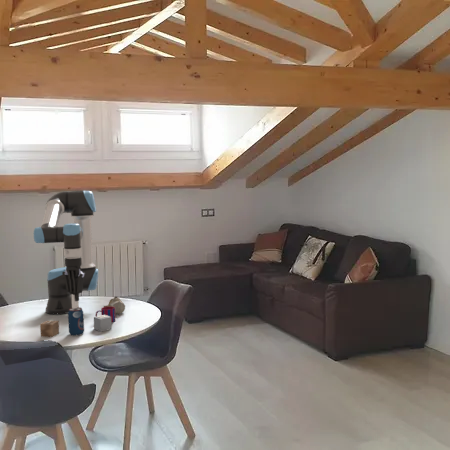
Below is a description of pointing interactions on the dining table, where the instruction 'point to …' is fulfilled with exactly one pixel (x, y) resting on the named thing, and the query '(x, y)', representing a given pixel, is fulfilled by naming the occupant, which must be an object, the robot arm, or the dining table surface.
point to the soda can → (76, 321)
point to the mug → (108, 312)
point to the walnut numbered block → (49, 328)
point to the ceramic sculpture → (117, 305)
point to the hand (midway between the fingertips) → (75, 307)
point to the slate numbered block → (102, 323)
